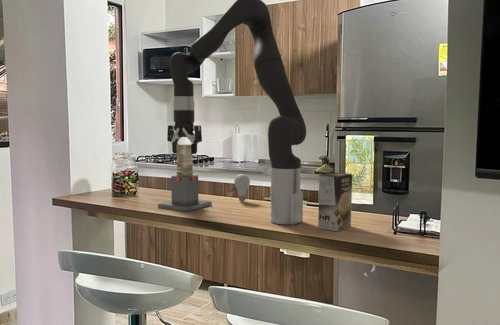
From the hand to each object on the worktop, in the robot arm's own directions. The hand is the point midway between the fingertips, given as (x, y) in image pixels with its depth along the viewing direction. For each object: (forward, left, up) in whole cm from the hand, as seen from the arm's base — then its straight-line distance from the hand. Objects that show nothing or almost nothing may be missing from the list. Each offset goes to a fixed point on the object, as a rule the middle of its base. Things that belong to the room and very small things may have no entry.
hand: (184, 153), depth 165 cm
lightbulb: (-13, -19, -20) cm, 30 cm away
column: (0, 0, -12) cm, 12 cm away
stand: (0, 0, -20) cm, 20 cm away
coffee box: (-59, +2, -20) cm, 62 cm away
